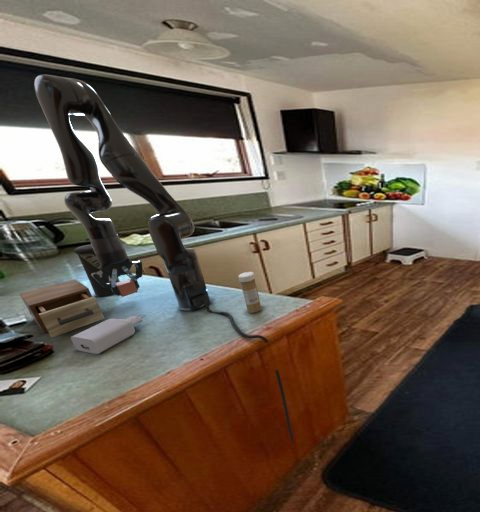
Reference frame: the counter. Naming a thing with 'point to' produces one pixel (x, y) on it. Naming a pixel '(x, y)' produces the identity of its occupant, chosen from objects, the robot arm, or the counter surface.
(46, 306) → the drawer
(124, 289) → the block
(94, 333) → the charger
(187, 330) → the counter surface
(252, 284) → the sprinkles bottle
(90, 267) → the container
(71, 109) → the robot arm
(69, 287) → the cabinet
